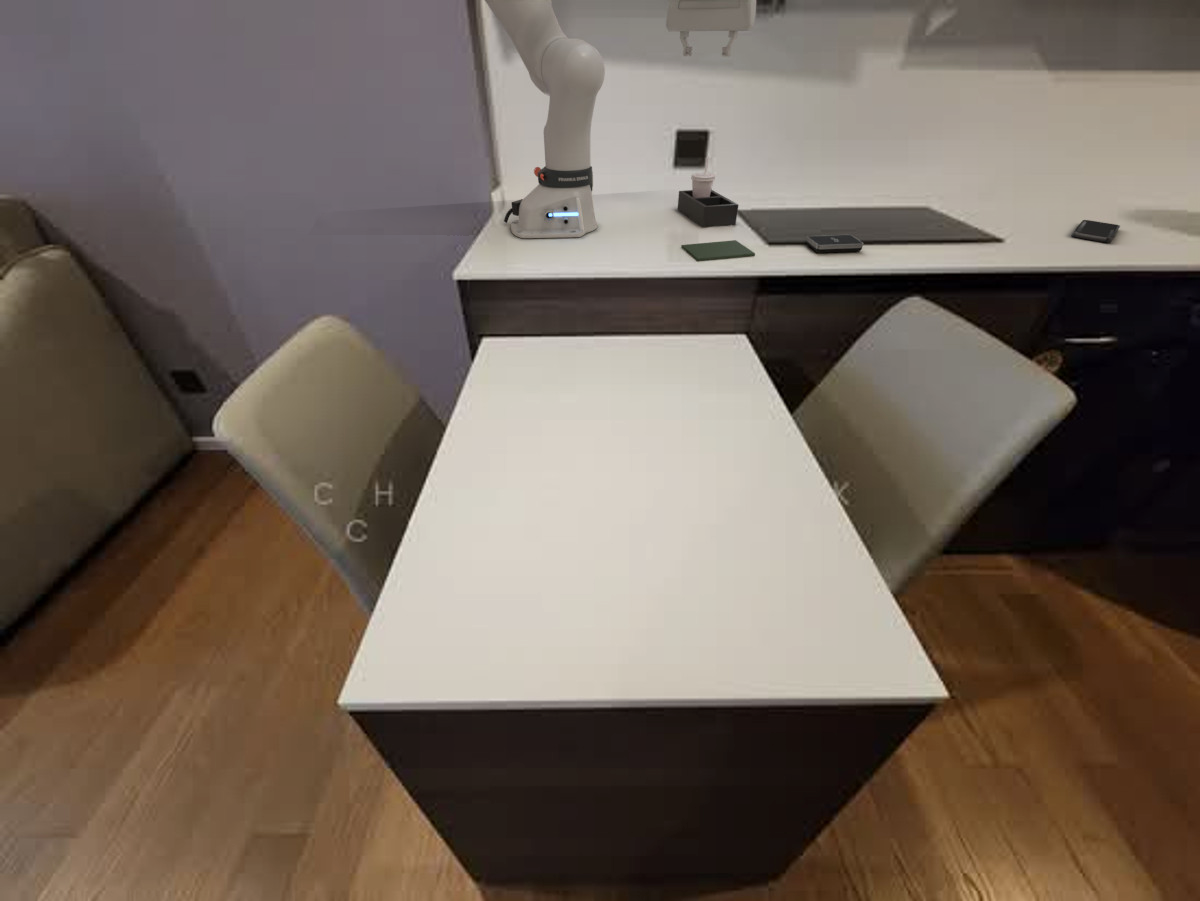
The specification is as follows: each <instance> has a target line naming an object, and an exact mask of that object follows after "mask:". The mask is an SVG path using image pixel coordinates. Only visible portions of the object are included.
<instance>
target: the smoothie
mask: <svg viewBox="0 0 1200 901" xmlns="http://www.w3.org/2000/svg"><path fill="white" fill-rule="evenodd" d="M708 165H709V156H706V157H705V166H704V172H694V173H692V174H691V178H690V179H691V181H692V182H691V185H692V186H691V190H692V194H693V198H701V197H710V194H711V190H713V185H714V181H716V175H715V174H714V173H711V172H708Z"/></svg>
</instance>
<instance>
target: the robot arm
mask: <svg viewBox="0 0 1200 901" xmlns="http://www.w3.org/2000/svg"><path fill="white" fill-rule="evenodd" d="M484 2H485V3H486V5H487V6H488V8H489V9H490V11H491V12H492V13H493V15H494V16H495V18H496V19H497V20H498V22H499V23H500V25H501V26H502V28H503V29H504V31H505V32H506V34H507V35H508V36H509V38H510V40H511V41H512V43H513V45H514V47H515V49H516V50H517V54H518V55H519V57H520V58H521V61H522V63H523V65H524V67H525V68H526V70H527V72H528V75H529V78H530V80H531V82H532V83H533V85H534V86H535V87H536V88H537V89H538V90H539V91H540V92H541V93H542V94H544V95H546V96H548V97H549V104H548V111H547V117H546V118H547V119H546V122H545V125H544V128H543V144H544V145H543V146H544V147H543V148H544V162H545V166H544V167H542V168H541V167H540V166H536V167H534V169H533V174H534V175H535V177H537V181H538V182H537V183H538V185H536V187H535V188H533V189H532V190H531V191H530V192H529V193H528V194H527V195H526V196H524V197H523V198H522V199H517V200H515V201H511V208H510V209H508V211H507V212H506V214H505V216H504V219H503V222H504V223H506V224H507V223H508V221H509V219H510V216H511V214H512V216H516V217H518V219H515V220H513V221H511V223H510V231H511V233H512V234H513V235H515V236H516V237H517V238H521V239H555V238H556V239H557V238H580V237H583V236H584V235H586V234H587V233H591V232H593V231H595V230H597V228H598V226H599V225H598V222H597V219H596V214H595V208H594V203H593V202H594V201H593V187H594V172H593V166H592V165H591V132H592V131H591V130H592V129H591V128H592V121H593V116H594V109H595V106H596V105H595V104H596V100H597V95H598V93H599V91H601V89H602V86H603V84H604V80H605V74H606V73H605V70H606V69H605V68H606V67H605V63H604V59H603V57H602V55H601V53H600V52H599V51H598V50H597V49H596V47H594V46H593V45H592V44H590V43H589V42H587V41H585V40H584V39H580V38H569V37H567V35H566V34H565V33H564V31H563V30H562V27H561V26H560V24H559V21H558V18H557V17H556V13H555V11H554V7H553V2H552V0H484ZM756 14H757V0H668V6H667V12H666V21H665V27H666V29H667V31H668V32H679V40H680V42H681V44H682V47H683V50H682V51H683V52H682V56H683V57H691V56H692V54H693V53H692V50H693V46H690V45H689V43H688V39H687V38H689V35H690V32H728V35H727V36H728V38H729V40H728V42H727V44H726V46H722V49H721V51H722V52H721V57H722V58H729V57H730V56H731V50H732V47H733V45H734V43H735V42H736V40H737V39H738V32H750V31H751V30H752V29H753V28H754V26H755V23H756Z"/></svg>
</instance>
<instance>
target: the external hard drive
mask: <svg viewBox="0 0 1200 901" xmlns="http://www.w3.org/2000/svg"><path fill="white" fill-rule="evenodd" d="M805 245H807V246H808V247H810V249H812V250H813V251H814V252H815V253H818V254H823V253H847V252H848V253H849V252H850V253H851V252H860V251H862V249H863V246H864V242H863V241H861V240H860V239H858V237H855V236H853V235H852V234H829V235H828V234H825V235H807V236H806V240H805Z"/></svg>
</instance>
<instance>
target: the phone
mask: <svg viewBox="0 0 1200 901" xmlns="http://www.w3.org/2000/svg"><path fill="white" fill-rule="evenodd" d="M1120 228H1121V225H1119V224H1116V223H1110V222H1103V221H1096V220H1089V219H1082V221H1081V222H1080V223H1079V224H1078V225H1077V226H1076V228H1075V229H1074V230H1073V232H1072V234H1071V237H1073V238H1076V239H1081V240H1088V241H1093V242H1098V243H1105V244H1106V243H1107V244H1109V243H1112V241H1113V240H1114V238H1115V237H1116V234H1117V233H1118V231H1119V229H1120Z"/></svg>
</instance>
